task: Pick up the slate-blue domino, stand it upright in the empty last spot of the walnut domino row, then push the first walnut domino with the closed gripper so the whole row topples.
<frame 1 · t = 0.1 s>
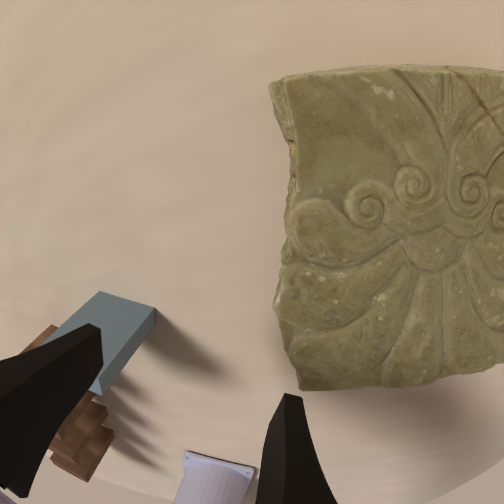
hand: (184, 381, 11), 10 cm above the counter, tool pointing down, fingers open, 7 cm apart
domino 1: (97, 426, 32), on the counter
domino 2: (89, 402, 30), on the counter
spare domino: (126, 307, 23), on the counter
domino 3: (80, 374, 28), on the counter
decorative tile: (420, 232, 18), on the counter
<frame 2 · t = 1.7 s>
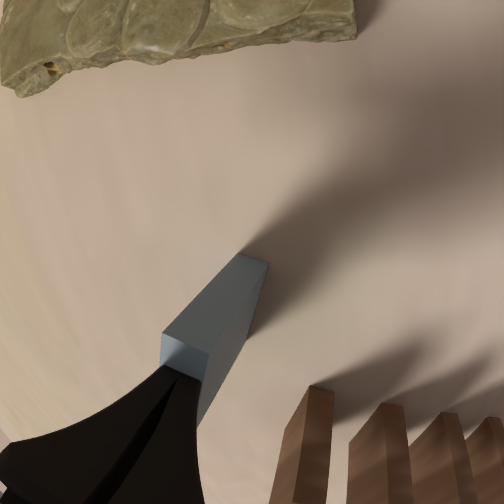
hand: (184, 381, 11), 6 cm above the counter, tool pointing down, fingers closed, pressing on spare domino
domino 1: (475, 437, 17), on the counter
domino 2: (430, 433, 18), on the counter
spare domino: (247, 292, 17), on the counter, touching gripper
domino 3: (374, 426, 18), on the counter
domino 4: (307, 412, 19), on the counter
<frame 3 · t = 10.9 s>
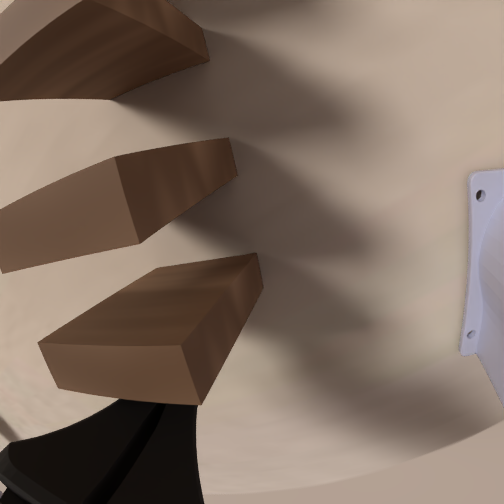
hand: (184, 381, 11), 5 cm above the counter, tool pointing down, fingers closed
domino 1: (207, 277, 15), on the counter, tilted 8°
domino 2: (177, 170, 13), on the counter
domino 3: (152, 63, 11), on the counter
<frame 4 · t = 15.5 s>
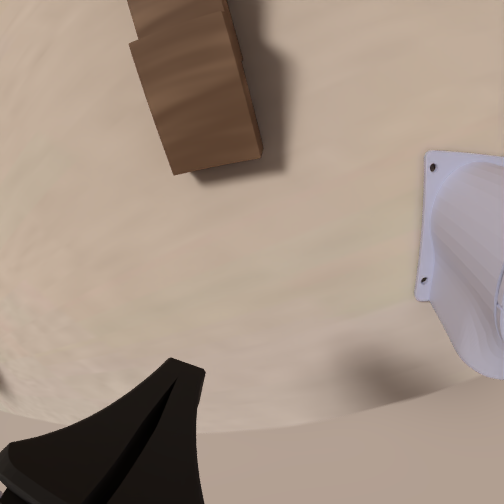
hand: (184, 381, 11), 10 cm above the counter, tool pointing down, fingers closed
domino 1: (218, 160, 17), point 1 cm above the counter, tilted 73°, touching domino 2
domino 2: (198, 72, 16), point 1 cm above the counter, tilted 75°, touching domino 1, domino 3
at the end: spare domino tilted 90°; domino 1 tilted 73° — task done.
